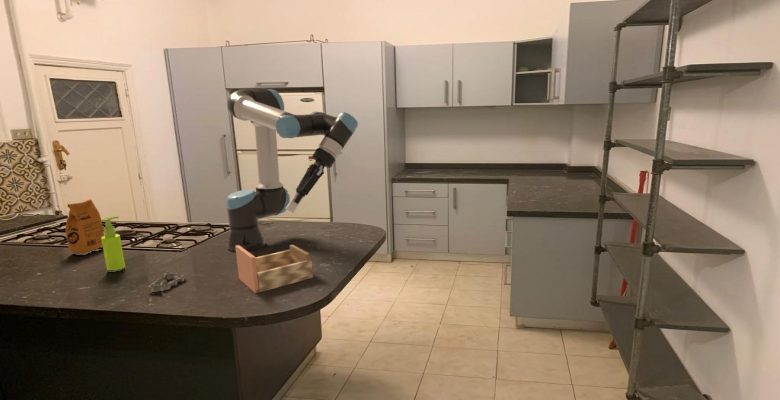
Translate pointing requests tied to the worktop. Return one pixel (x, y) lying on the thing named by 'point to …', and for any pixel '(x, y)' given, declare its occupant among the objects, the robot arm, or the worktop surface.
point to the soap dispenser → (112, 247)
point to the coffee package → (84, 227)
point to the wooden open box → (283, 268)
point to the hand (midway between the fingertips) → (289, 210)
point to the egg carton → (164, 284)
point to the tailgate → (247, 268)
